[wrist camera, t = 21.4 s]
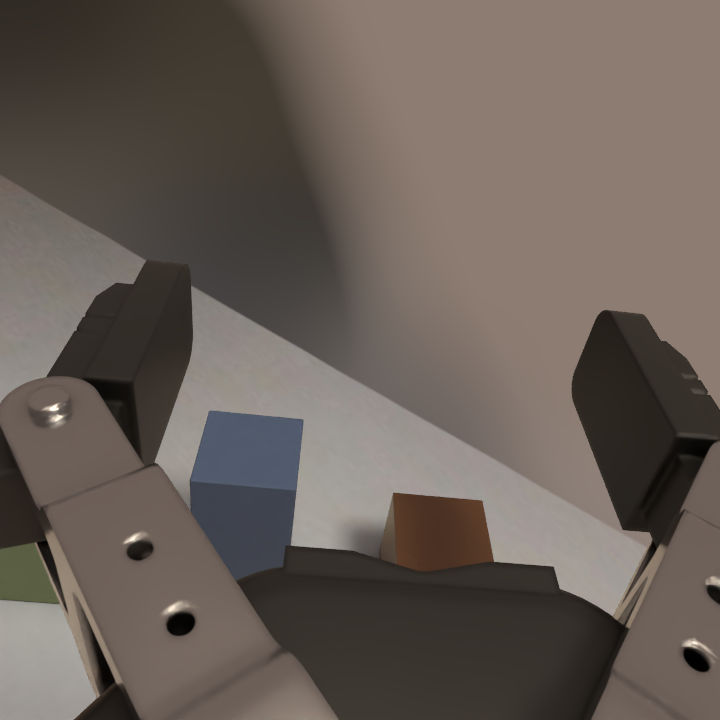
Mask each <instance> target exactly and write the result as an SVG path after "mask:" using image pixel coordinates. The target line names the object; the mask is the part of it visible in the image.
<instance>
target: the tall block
mask: <svg viewBox="0 0 720 720" xmlns="http://www.w3.org/2000/svg"><path fill="white" fill-rule="evenodd" d="M302 430H303V419H293V418H283V417H272V416H262V415H251V414H241V413H230V412H220V411H209V414H208V417H207V421H206V424H205V428H204V432H203V435H202V439H201V442H200V446H199V450H198V453H197V457H196V460H195V464H194V468H193V471H192V475H191V479H190V496H191V513H192V515H193V516H194V518H195V519H196V521H197V522H198V524H199V525H200V527H201V528H202V530H203V532H204V533H205V535H206V536H207V538H208V539H209V541H210V542H211V544H212V545H213V547H214V548H215V550H216V551H217V553H218V555H219V556H220V558H221V559H222V561H223V562H224V564H225V565H226V567H227V568H228V570H229V571H230V573H231V574H232V576H233V578H234V579H235V581H236V580H238V579H240V578H243V577H245V576H247V575H250V574H252V573H255V572H259V571H262V570H266V569H270V568H276V567H282V566H283V562H284V554H285V546H291V537H292V527H293V518H294V508H295V499H296V489H297V479H298V470H299V460H300V450H301V440H302Z"/></svg>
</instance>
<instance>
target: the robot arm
mask: <svg viewBox="0 0 720 720" xmlns="http://www.w3.org/2000/svg"><path fill="white" fill-rule="evenodd" d="M192 341H193V324H192V300H191V277H190V269H189V266H188V264H182V263H172V262H163V261H154V260H147V261H146V262H145V264H144V266H143V267H142V269H141V271H140V273H139V275H138V277H137V278H136V280H135V282H134V284H123V283H115V284H114V285H112V286H111V287H109V288H108V289H106V290H105V291H103V292H102V293H100V294H99V295H97V296H96V297H95V299H94V300H93V302H92V304H91V305H90V307H89V309H88V310H87V312H86V316H85V317H83V318H82V320H81V321H80V323H79V325H78V326H77V331H74V333H73V334H72V336H71V338H70V339H69V341H68V343H67V344H66V346H65V347H64V349H63V351H62V352H61V354H60V356H59V357H58V359H57V360H56V362H55V364H54V365H53V367H52V368H51V370H50V372H49V373H48V375H47V377H45V378H41V379H36V380H33V381H30V382H27V383H25V384H23V385H21V386H19V387H18V388H16V389H14V390H13V391H12V392H10V393H9V394H8V395H7V396H6V397H5V398H4V399H3V400H2V402H1V404H0V549H4V548H9V547H15V546H20V545H25V544H31V543H34V544H35V546H36V549H37V551H38V553H39V556H40V558H41V560H42V563H43V565H44V568H45V570H46V572H47V575H48V577H49V579H50V582H51V584H52V586H53V589H54V591H55V593H56V596H57V598H58V600H59V603H60V605H61V607H62V610H63V612H64V614H65V617H66V619H67V622H68V624H69V626H70V629H71V631H72V634H73V637H74V639H75V642H76V645H77V648H78V651H79V654H80V657H81V659H82V662H83V665H84V668H85V670H86V673H87V675H88V678H89V680H90V683H91V685H92V688H93V690H94V693H95V695H96V697H97V699H96V700H95V701H94V702H93V703H92V704H90V705H89V706H88V707H87V708H86V709H85V710H84V711H83V712H82V713H81V714H80V715H78V716H77V717H76V718H75V719H74V720H720V410H719V408H718V406H717V405H716V403H715V402H714V400H713V399H712V397H711V396H710V395H707V393H708V391H707V389H706V388H705V386H704V385H703V383H702V382H701V380H698V375H697V374H696V373H695V371H694V369H693V368H692V366H691V365H690V363H689V362H688V360H687V359H686V358H685V357H684V356H683V355H682V354H680V353H679V352H678V351H677V350H675V349H674V348H673V347H672V346H671V345H670V344H668V343H667V342H666V341H661V340H660V339H659V337H658V336H657V334H656V332H655V331H654V329H653V327H652V326H651V324H650V323H649V321H648V319H647V318H646V317H645V316H644V315H643V314H636V313H628V312H618V311H609V310H604V311H602V312H601V313H600V314H599V315H598V317H597V318H596V320H595V323H594V325H593V327H592V330H591V332H590V335H589V337H588V340H587V342H586V345H585V347H584V349H583V352H582V354H581V357H580V359H579V362H578V364H577V367H576V369H575V372H574V376H573V380H572V398H573V402H574V405H575V408H576V410H577V413H578V415H579V418H580V421H581V423H582V426H583V428H584V431H585V434H586V436H587V439H588V441H589V444H590V446H591V449H592V452H593V454H594V457H595V459H596V462H597V464H598V467H599V470H600V472H601V475H602V477H603V480H604V482H605V485H606V488H607V490H608V493H609V496H610V498H611V501H612V503H613V506H614V509H615V511H616V514H617V516H618V519H619V521H620V524H621V526H622V529H623V530H628V531H641V532H650V534H651V537H652V539H653V540H652V542H651V543H650V545H649V546H648V548H647V550H646V551H645V553H644V555H643V557H642V559H641V561H640V563H639V565H638V567H637V569H636V571H635V573H634V575H633V577H632V579H631V581H630V583H629V585H628V587H627V589H626V591H625V593H624V595H623V597H622V599H621V601H620V603H619V605H618V607H617V609H616V611H615V613H614V615H613V617H612V616H611V615H610V614H608V613H607V612H605V611H604V610H602V609H601V608H599V607H598V606H596V605H594V604H592V603H590V602H588V601H586V600H585V599H583V598H581V597H578V596H576V595H574V594H571V593H569V592H566V591H564V590H561V589H559V585H558V581H557V577H556V574H555V570H554V567H551V566H538V565H525V564H513V563H500V562H484V563H478V564H471V565H465V566H459V567H453V568H447V569H440V570H434V571H426V572H425V571H417V570H414V569H410V568H407V567H404V566H401V565H397V564H394V563H391V562H388V561H384V560H381V559H378V558H374V557H371V556H368V555H365V554H361V553H358V552H355V551H348V550H336V549H323V548H310V547H298V546H285V554H284V562H283V566H282V567H276V568H270V569H266V570H262V571H259V572H255V573H252V574H250V575H247V576H245V577H243V578H240V579H238V580H236V581H235V579H234V578H233V576H232V574H231V573H230V571H229V570H228V568H227V567H226V565H225V564H224V562H223V561H222V559H221V558H220V556H219V555H218V553H217V551H216V550H215V548H214V547H213V545H212V544H211V542H210V541H209V539H208V538H207V536H206V535H205V533H204V532H203V530H202V528H201V527H200V525H199V524H198V522H197V521H196V519H195V518H194V516H193V515H192V513H191V512H190V510H189V509H188V507H187V505H186V504H185V502H184V501H183V499H182V498H181V496H180V495H179V493H178V492H177V490H176V489H175V487H174V486H173V484H172V482H171V481H170V479H169V478H168V476H167V475H166V473H165V472H164V471H163V469H162V468H161V467H160V466H159V465H158V464H156V463H154V462H155V459H156V456H157V453H158V450H159V447H160V444H161V442H162V439H163V436H164V433H165V430H166V427H167V424H168V422H169V419H170V416H171V413H172V410H173V407H174V404H175V402H176V399H177V396H178V393H179V390H180V387H181V384H182V382H183V379H184V376H185V373H186V370H187V367H188V364H189V361H190V356H191V351H192Z"/></svg>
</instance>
